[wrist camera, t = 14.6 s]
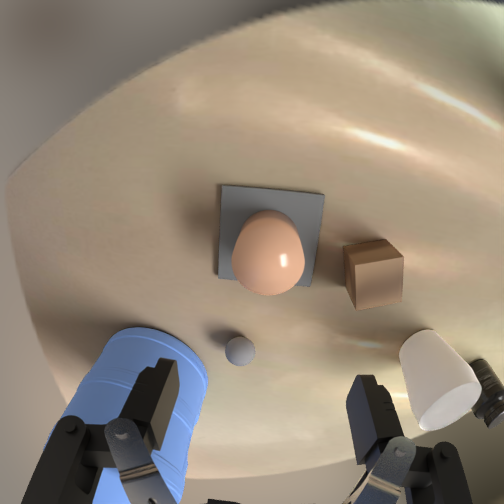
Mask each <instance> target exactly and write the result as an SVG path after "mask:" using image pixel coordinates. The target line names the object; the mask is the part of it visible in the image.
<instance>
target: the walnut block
mask: <svg viewBox="0 0 504 504" xmlns="http://www.w3.org/2000/svg"><path fill="white" fill-rule="evenodd" d="M343 251H344V265H345V283H346V289H347V291H348V293H349V296H350V298H351V300H352V302H353V305H354V307H355V309H356V311H358V310H363V309H368V308H373V307H378V306H383V305H388V304H393V303H398V302H402V288H403V267H404V257H403V256H402V255H401V254H400V253H399V252H398V251H397V250H396V249H395V248H394V247H393V246H392V245H391V244H390V243H389V242H388V241H387V240H386V239H385V240H379V241H372V242H366V243H360V244H354V245H347V246H343Z"/></svg>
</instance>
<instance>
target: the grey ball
mask: <svg viewBox="0 0 504 504" xmlns="http://www.w3.org/2000/svg"><path fill="white" fill-rule="evenodd" d="M225 354H226V357H227V359H228V360H229V361H230V362H231V363H232V364H234V365H236V366H244V365H247V364H249V363H250V362H251V361H252V360H253V358H254V356H255V347H254V345H253V343H252V342H251V341H250V340H249V339H247V338H245V337H236V338H233V339H232V340H230V341H229V342H228V344H227V345H226V349H225Z"/></svg>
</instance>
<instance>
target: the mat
mask: <svg viewBox="0 0 504 504" xmlns="http://www.w3.org/2000/svg"><path fill="white" fill-rule="evenodd" d="M324 198H325V195H324V194H317V193H308V192H299V191H290V190H280V189H269V188H258V187H246V186H232V185H222V194H221V215H220V238H219V267H218V279H228V280H237V278H236V277H235V275H234V272H233V269H232V261H231V259H232V254H233V250H234V247H235V245H236V242H237V239H238V236H239V233H240V230H241V228H242V226H243V224H244V222H245V221H246V220H247V219H248V218H249V217H250V216H251V215H253V214H255V213H257V212H259V211H263V210H275V211H279V212H281V213H284V214H285V215H287V216H288V217H289V218H291V220H292V221H293V222H294V223H295V225H296V227H297V229H298V233H299V237H300V241H301V245H302V249H303V253H304V259H305V265H304V270H303V273H302V276H301V277H300V279H299V280H298V282H297V283H296V284H295V286H307V287H310V286H311V280H312V275H313V269H314V263H315V257H316V251H317V245H318V239H319V232H320V226H321V219H322V212H323V205H324Z"/></svg>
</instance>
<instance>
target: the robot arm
mask: <svg viewBox="0 0 504 504" xmlns="http://www.w3.org/2000/svg"><path fill="white" fill-rule="evenodd" d="M179 387H180V382H179V374H178V365H177V361H176V360H173V359H167V358H161V357H160V358H159V359H158V361H157V363H156V366H155V368H154V367H149V366H147V367H146V368H145V369H144V370H143V371H141V372H140V373H139V375H138V377H137V379H136V381H135V383H134V385H133V387H132V390H131V392H130V394H129V396H128V398H127V400H126V402H125V404H124V406H123V408H122V410H121V413H120V415H119V416H118V417H117V418H115V419H113V420H111V421H109V422H108V423H107V424H101V425H100V424H85V423H84V421H83V420H82V419H81V418H79V417H77V416H74V415H68V416H65V417H63V418H61V419H60V420H59V421H58V422H57V424H56V426H55V428H54V430H53V432H52V434H51V436H50V438H49V440H48V442H47V444H46V447H45V449H44V451H43V453H42V455H41V457H40V460H39V462H38V464H37V466H36V469H35V471H34V473H33V475H32V478H31V480H30V482H29V485H28V487H27V490H26V492H25V495H24V497H23V500H22V502H21V504H92V503H93V499H94V496H95V493H96V490H97V486H98V483H99V480H100V477H101V474H102V471H103V468H117V469H118V472H119V474H120V476H119V478H120V481H121V484H122V486H123V488H124V490H125V493H126V495H127V497H128V499H129V501H130V503H131V504H177V502H176V501H175V499H174V497H173V496H172V494H171V492H170V490H169V489H168V487H167V485H166V483H165V482H164V480H163V478H162V476H161V474H160V472H159V470H158V469H157V467H156V465H155V464H154V462H153V460H152V458H151V454H152V451H153V450H157V451H160V450H161V447H162V444H163V440H164V437H165V434H166V431H167V428H168V425H169V422H170V419H171V415H172V412H173V409H174V406H175V403H176V400H177V397H178V394H179ZM392 402H393V401H392V398H391V396H390V393H389V392H388V391H387V389H386V388H385V387H384V386H383V385H377V382H376V379H375V376H374V375H357V376H356V378H355V380H354V382H353V385H352V387H351V389H350V391H349V394H348V396H347V400H346V409H347V414H348V419H349V424H350V429H351V434H352V439H353V444H354V450H355V455H356V460H357V465H361V464H366V470H365V471H364V473H363V474H362V476H361V477H360V479H359V481H358V482H357V484H356V485H355V487H354V488H353V490H352V491H351V492H350V494H349V495H348V497H347V498H346V499H345V501H344V502H343V503H342V504H396V502H397V500H398V499H399V497H400V494H401V491H399V489H400V487H404V488H405V494H406V500H407V504H473V503H472V499H471V495H470V492H469V488H468V484H467V480H466V477H465V473H464V470H463V467H462V464H461V461H460V457H459V454H458V451H457V449H456V447H455V446H454V445H452V444H451V443H449V442H440V443H438V444H437V445H435V447H434V448H428V447H419V446H415V444H414V443H413V441H412V440H410V439H409V438H407V437H405V436H404V434H403V431H402V428H401V425H400V422H399V419H398V416H397V413H396V410H395V407H394V404H393V403H392ZM206 504H240V503H236V502H230V501H222V500H214V499H208V503H206Z"/></svg>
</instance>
